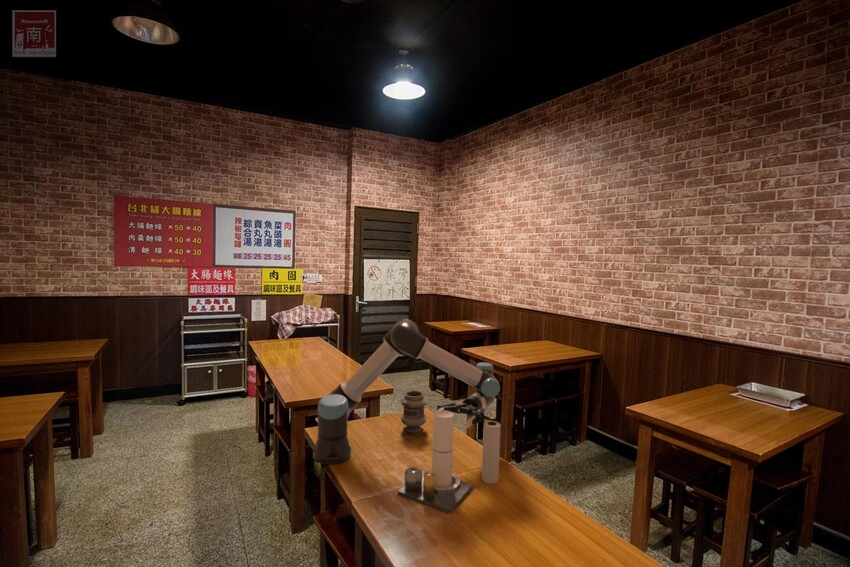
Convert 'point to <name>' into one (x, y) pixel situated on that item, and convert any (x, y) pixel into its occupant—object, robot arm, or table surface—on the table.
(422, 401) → the apothecary jar
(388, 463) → the table surface
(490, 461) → the paper towel roll
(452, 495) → the carrier
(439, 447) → the cylindrical container
